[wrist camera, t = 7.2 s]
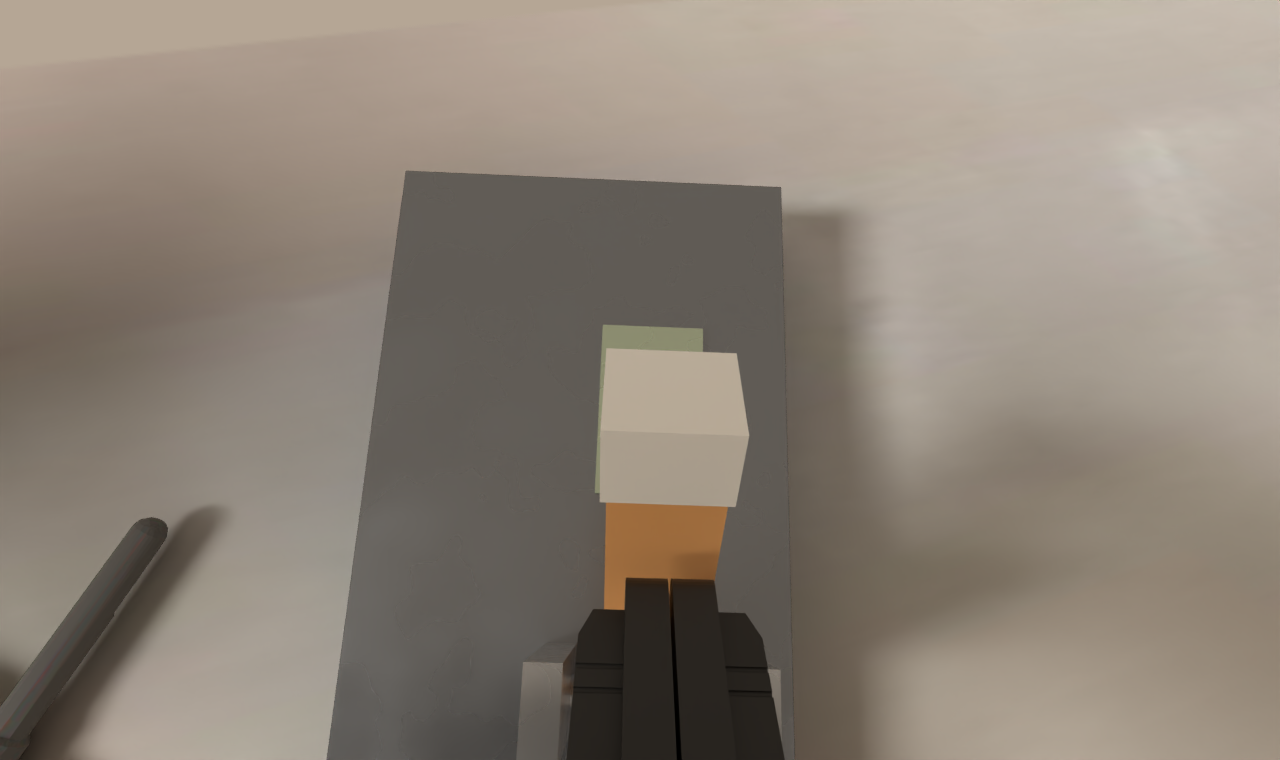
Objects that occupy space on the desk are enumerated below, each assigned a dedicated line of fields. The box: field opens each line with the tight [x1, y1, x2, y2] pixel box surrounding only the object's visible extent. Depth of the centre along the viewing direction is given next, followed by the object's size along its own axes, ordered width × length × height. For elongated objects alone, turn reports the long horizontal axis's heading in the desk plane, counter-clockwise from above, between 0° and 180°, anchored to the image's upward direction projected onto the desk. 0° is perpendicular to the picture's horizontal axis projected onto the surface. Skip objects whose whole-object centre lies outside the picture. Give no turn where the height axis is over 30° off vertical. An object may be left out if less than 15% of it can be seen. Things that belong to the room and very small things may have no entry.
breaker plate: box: [327, 171, 795, 760], centre depth 19 cm, size 12×25×8 cm, turn 178°
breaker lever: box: [600, 348, 749, 610], centre depth 14 cm, size 2×2×9 cm
